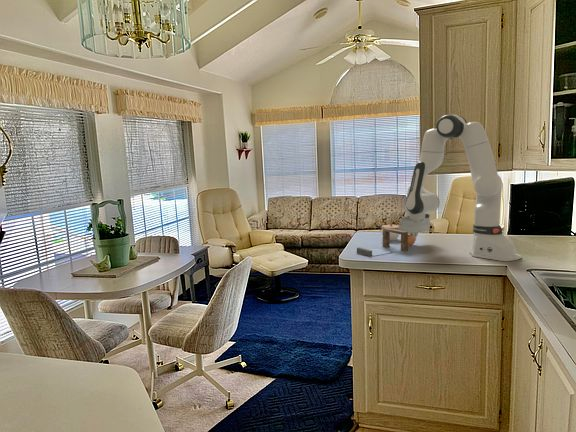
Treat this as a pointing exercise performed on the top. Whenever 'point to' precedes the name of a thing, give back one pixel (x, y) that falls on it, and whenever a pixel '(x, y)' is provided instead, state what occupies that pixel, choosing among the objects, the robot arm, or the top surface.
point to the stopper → (364, 251)
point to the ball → (411, 240)
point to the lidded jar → (392, 235)
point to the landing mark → (378, 252)
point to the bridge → (403, 233)
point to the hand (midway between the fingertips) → (413, 240)
